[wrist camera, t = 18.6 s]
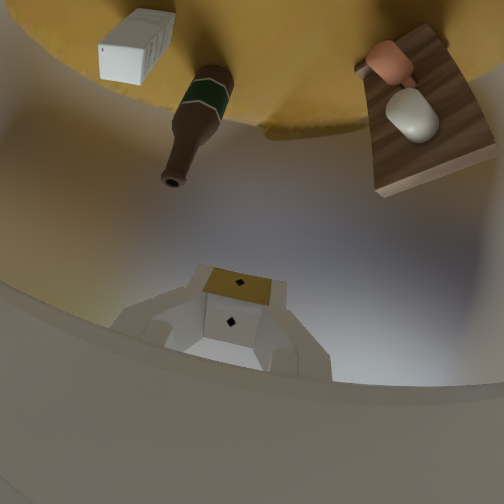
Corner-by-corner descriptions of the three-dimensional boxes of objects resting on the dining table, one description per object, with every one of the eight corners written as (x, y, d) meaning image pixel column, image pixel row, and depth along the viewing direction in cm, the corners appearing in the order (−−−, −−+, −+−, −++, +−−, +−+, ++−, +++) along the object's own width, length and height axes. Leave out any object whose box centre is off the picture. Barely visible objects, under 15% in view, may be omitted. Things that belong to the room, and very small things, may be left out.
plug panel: (354, 68, 37) (364, 182, 29) (426, 22, 24) (489, 129, 16) (377, 89, 40) (392, 204, 32) (447, 49, 26) (504, 165, 19)
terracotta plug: (363, 53, 28) (368, 71, 27) (390, 35, 24) (397, 52, 23) (406, 96, 33) (412, 117, 31) (431, 83, 29) (440, 103, 27)
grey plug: (383, 100, 26) (388, 129, 25) (416, 81, 22) (426, 110, 21) (425, 146, 31) (431, 175, 29) (454, 133, 27) (463, 163, 25)
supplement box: (134, 38, 36) (98, 79, 32) (137, 6, 29) (96, 42, 25) (171, 45, 38) (140, 87, 34) (178, 12, 31) (143, 49, 27)
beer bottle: (243, 86, 46) (209, 192, 38) (211, 99, 50) (173, 200, 43) (218, 57, 40) (169, 161, 32) (186, 74, 44) (135, 175, 37)
